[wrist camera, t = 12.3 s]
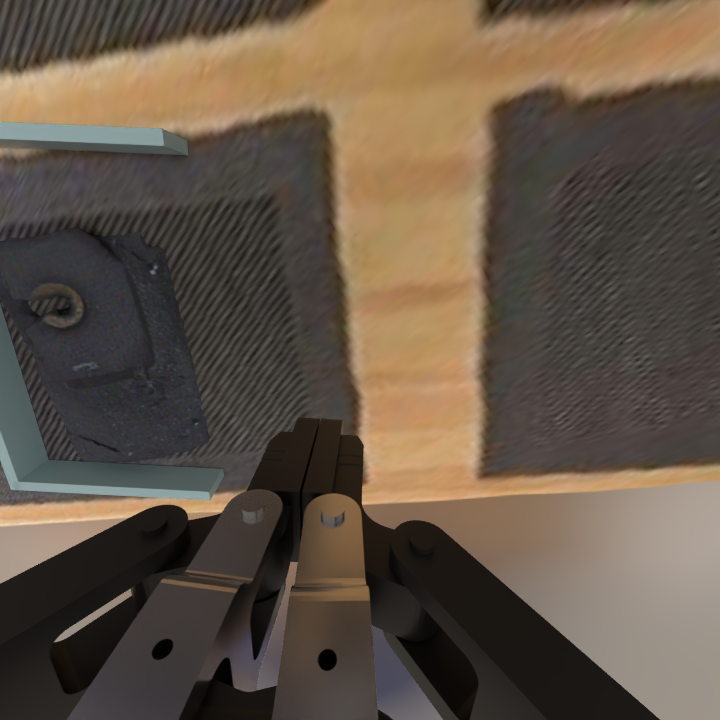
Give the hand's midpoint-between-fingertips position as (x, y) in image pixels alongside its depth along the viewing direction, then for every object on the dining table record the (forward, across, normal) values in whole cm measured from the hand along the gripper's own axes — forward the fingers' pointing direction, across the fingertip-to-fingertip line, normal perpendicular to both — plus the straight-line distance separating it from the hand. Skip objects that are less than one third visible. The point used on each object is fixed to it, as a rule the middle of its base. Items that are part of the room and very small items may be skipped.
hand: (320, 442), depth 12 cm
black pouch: (+21, +22, +6) cm, 31 cm away
